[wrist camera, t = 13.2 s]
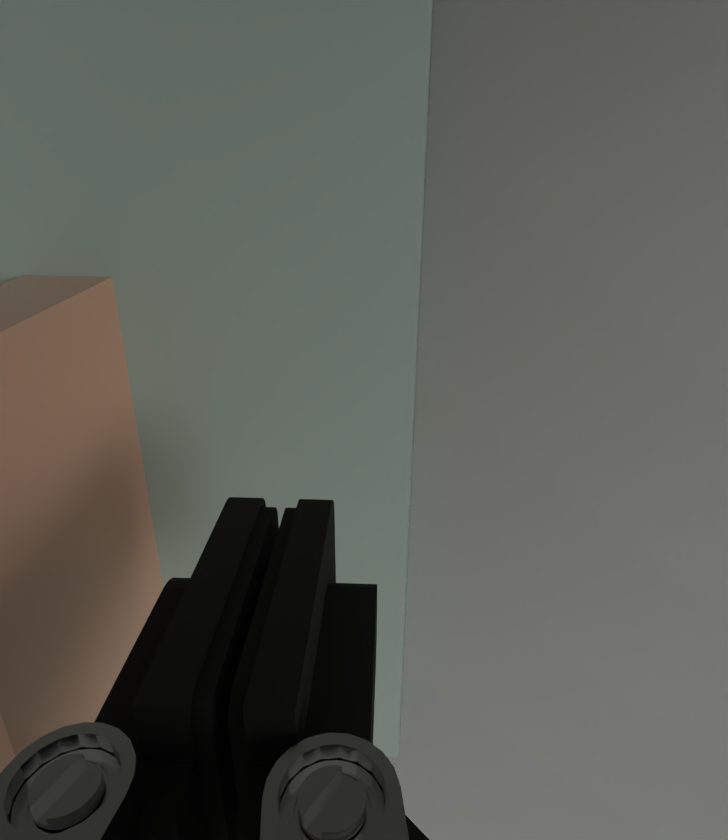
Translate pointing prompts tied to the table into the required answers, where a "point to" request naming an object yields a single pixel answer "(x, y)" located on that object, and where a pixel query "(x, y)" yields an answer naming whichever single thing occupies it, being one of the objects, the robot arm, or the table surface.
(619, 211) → the table surface
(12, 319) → the tile
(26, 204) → the mat
